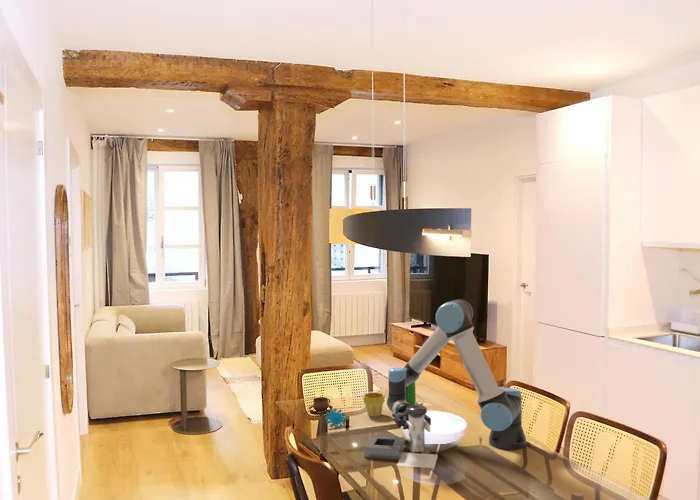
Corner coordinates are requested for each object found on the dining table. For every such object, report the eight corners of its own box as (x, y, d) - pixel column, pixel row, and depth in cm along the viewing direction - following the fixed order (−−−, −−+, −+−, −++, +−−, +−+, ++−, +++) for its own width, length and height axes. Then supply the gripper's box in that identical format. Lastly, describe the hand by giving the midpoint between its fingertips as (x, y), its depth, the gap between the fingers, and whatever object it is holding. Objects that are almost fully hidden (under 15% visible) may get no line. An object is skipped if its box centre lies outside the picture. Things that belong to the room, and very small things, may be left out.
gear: (326, 426, 279) (325, 406, 286) (323, 432, 283) (322, 413, 290) (349, 427, 281) (348, 408, 288) (346, 433, 285) (345, 414, 292)
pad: (437, 457, 243) (437, 454, 243) (433, 470, 229) (433, 468, 229) (402, 454, 246) (402, 452, 246) (396, 468, 233) (396, 465, 233)
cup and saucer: (316, 406, 316) (316, 395, 316) (337, 409, 311) (336, 397, 311) (304, 413, 306) (304, 401, 305) (325, 416, 300) (325, 403, 300)
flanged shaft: (428, 446, 241) (428, 405, 240) (425, 453, 233) (425, 411, 232) (408, 444, 243) (407, 404, 242) (404, 451, 235) (404, 410, 234)
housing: (404, 449, 252) (404, 437, 252) (399, 462, 239) (399, 449, 238) (371, 447, 256) (371, 435, 255) (364, 459, 242) (364, 447, 242)
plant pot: (361, 417, 297) (360, 397, 297) (367, 411, 307) (366, 391, 306) (381, 418, 294) (381, 398, 293) (387, 412, 303) (386, 393, 303)
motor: (393, 408, 310) (392, 369, 309) (405, 404, 316) (404, 366, 315) (408, 412, 303) (407, 372, 302) (420, 408, 309) (419, 369, 308)
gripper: (425, 418, 257) (444, 436, 234) (381, 421, 253) (396, 440, 231) (425, 400, 257) (444, 417, 234) (381, 403, 253) (396, 421, 230)
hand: (420, 429), depth 232 cm, fingers closed on flanged shaft, 6 cm apart
